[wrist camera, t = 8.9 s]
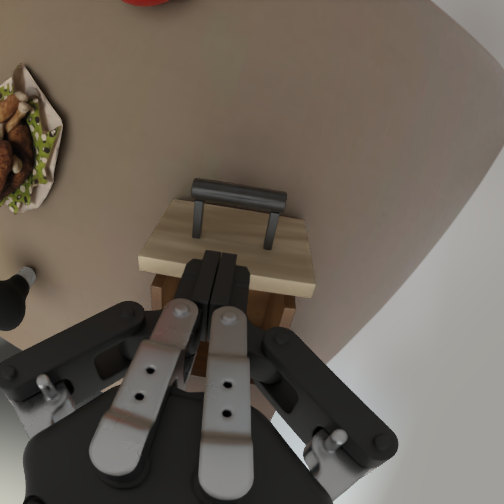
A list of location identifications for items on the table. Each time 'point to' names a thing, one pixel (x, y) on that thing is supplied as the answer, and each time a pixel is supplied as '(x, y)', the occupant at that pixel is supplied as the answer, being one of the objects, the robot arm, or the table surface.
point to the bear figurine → (26, 142)
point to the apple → (145, 2)
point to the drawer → (233, 249)
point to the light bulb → (14, 298)
